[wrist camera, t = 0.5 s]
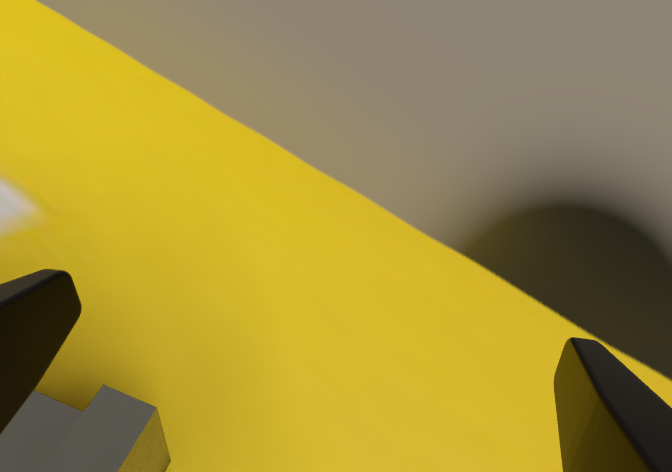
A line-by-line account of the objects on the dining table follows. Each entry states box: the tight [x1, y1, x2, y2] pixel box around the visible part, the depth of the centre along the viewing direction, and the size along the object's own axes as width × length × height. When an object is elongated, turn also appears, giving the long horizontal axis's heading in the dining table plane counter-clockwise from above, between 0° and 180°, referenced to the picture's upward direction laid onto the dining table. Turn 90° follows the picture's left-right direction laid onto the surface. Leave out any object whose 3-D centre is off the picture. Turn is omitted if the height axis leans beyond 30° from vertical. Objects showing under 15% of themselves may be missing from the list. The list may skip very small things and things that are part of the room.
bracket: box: [0, 385, 171, 472], centre depth 17 cm, size 8×5×7 cm, turn 71°
